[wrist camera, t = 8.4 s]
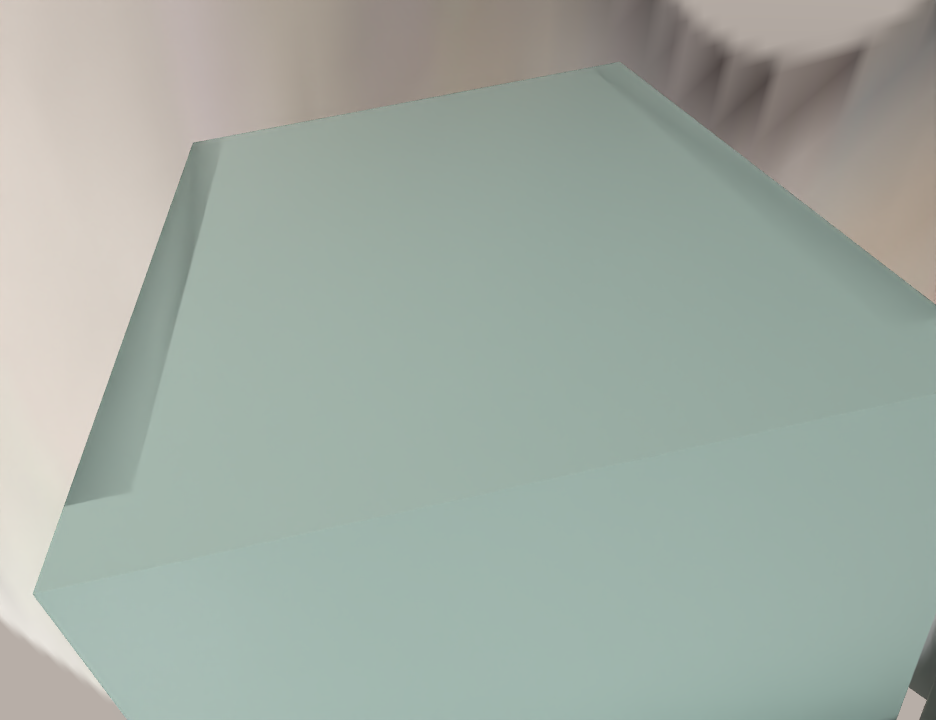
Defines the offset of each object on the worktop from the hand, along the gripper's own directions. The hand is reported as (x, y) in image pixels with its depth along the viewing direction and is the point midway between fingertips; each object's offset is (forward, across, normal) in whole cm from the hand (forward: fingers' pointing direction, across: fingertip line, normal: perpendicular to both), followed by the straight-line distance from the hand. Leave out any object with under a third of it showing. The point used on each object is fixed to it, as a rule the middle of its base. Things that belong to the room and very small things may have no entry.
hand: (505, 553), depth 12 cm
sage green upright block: (+4, 0, 0) cm, 5 cm away
